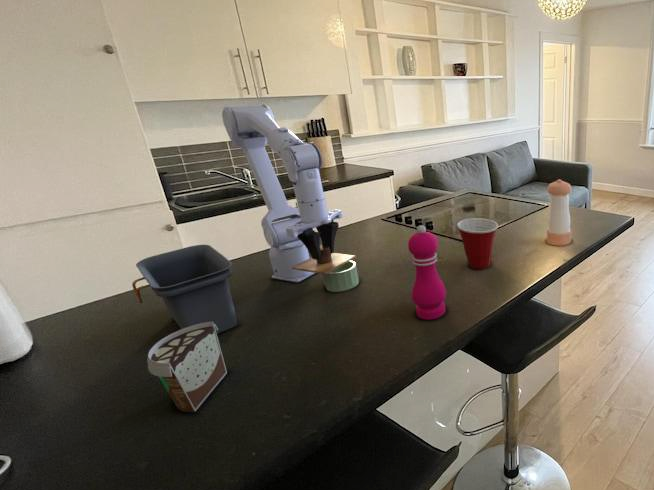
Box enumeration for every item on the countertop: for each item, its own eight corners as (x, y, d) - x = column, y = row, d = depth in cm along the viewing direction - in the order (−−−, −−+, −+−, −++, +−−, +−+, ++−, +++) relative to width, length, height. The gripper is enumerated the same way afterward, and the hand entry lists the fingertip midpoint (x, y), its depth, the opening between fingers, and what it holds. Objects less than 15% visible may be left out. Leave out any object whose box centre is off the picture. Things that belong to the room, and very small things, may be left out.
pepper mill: (453, 306, 91) (445, 221, 83) (438, 323, 85) (428, 232, 77) (424, 302, 93) (414, 218, 86) (408, 318, 87) (395, 230, 79)
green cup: (318, 289, 102) (314, 271, 100) (341, 275, 108) (337, 258, 107) (344, 293, 99) (340, 275, 97) (365, 279, 106) (362, 262, 104)
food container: (196, 370, 73) (177, 322, 70) (231, 367, 74) (214, 319, 70) (146, 422, 62) (121, 369, 58) (189, 418, 62) (166, 365, 59)
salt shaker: (574, 239, 126) (576, 178, 119) (564, 247, 120) (565, 183, 113) (553, 235, 130) (553, 176, 123) (542, 243, 124) (542, 181, 117)
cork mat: (292, 269, 94) (288, 253, 93) (324, 253, 103) (321, 238, 101) (325, 274, 90) (321, 258, 89) (356, 257, 99) (353, 242, 97)
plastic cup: (495, 274, 105) (493, 230, 101) (455, 272, 107) (451, 229, 103) (503, 257, 115) (502, 217, 110) (466, 256, 117) (463, 216, 113)
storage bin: (256, 325, 87) (237, 264, 82) (167, 361, 76) (138, 294, 71) (224, 296, 100) (206, 242, 95) (145, 323, 90) (119, 264, 84)
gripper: (298, 210, 83) (312, 270, 88) (347, 192, 95) (357, 246, 101) (273, 207, 86) (288, 266, 91) (324, 191, 98) (335, 243, 103)
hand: (323, 255), depth 96 cm, fingers closed on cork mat, 3 cm apart
